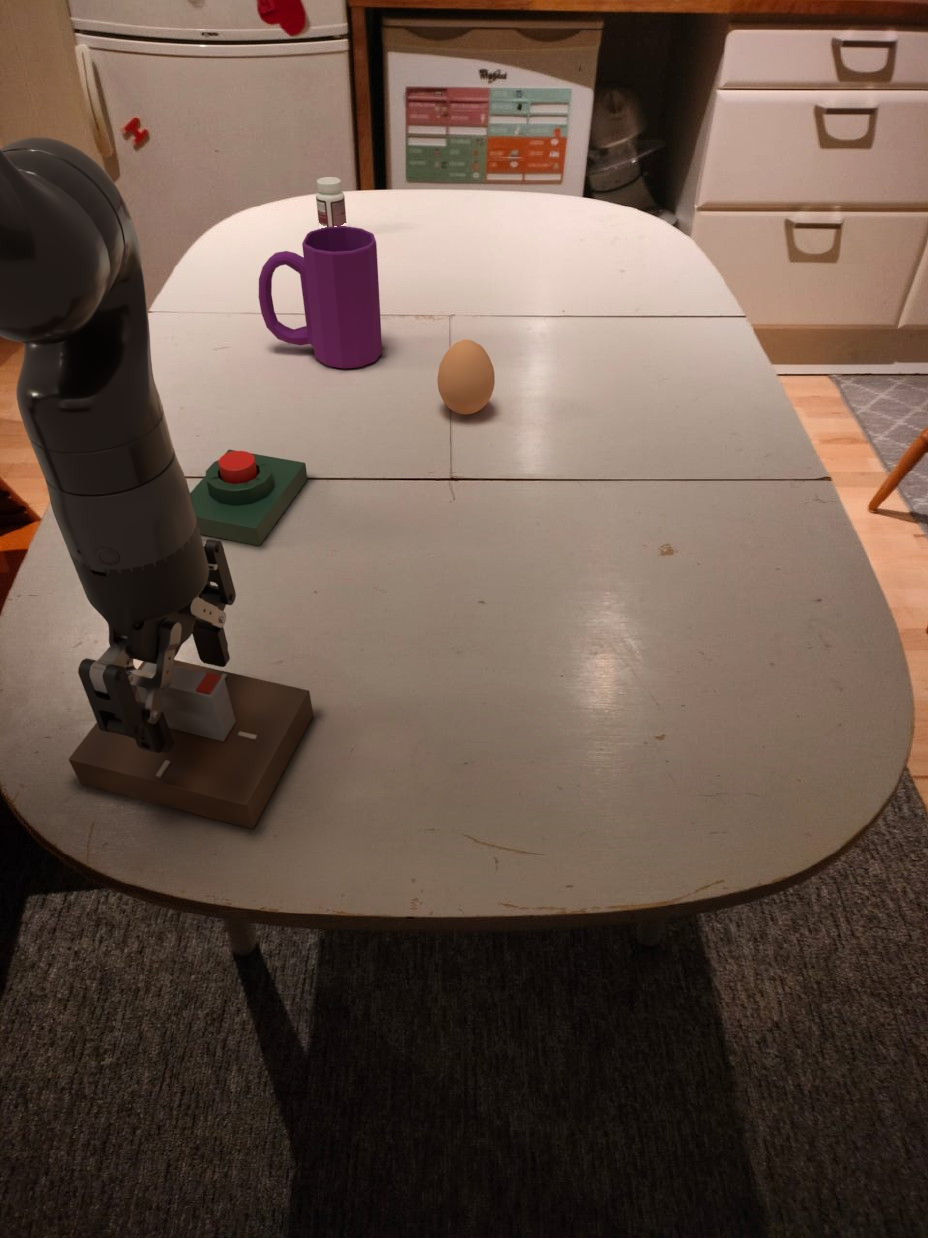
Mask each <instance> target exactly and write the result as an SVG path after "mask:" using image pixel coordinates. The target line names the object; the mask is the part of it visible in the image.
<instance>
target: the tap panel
mask: <svg viewBox="0 0 928 1238" xmlns="http://www.w3.org/2000/svg"><path fill="white" fill-rule="evenodd" d="M146 663H147V662H143V661H141V663H140V665H139V666H138V667H137V669H138V670H141V669H142V668H143V667H144V665H145V664H146ZM174 666H178V667H182V668H187V669H191V670H196V671H200V672H204V673H212V674H216V675H220V676H222V677H224V679H225V683H226V687H227V690H228V694H229V698H230V702H231V705H232V709H233V713H234V717H235V721H236V722H235V724H234V725H233V727H232V729H231V730H230V732H229V734H228V735H227V737H226V739H225V740H224V741H219V740H215V739H211V738H207V737H203V736H199V735H195V734H191V733H186V732H182V731H178V730H174V729H170V728H169V730H170V732H171V735H172V738H173V741H174V745H173V747H172V748H171V750H170V751H169V752H168V753H163V752H160V753H156V752H152V751H148V750H144V749H141V748H139V747H138V745H137V743H136V741H135V739H134V738H130V737H128V736H124V735H120V734H116V733H112V732H105V731H101V730H100V728H99V726H98V723H97V722H95V723H94V725H93V726H92V728H91V729H90V731H89V732H88V733H87V734H86V735H85V737H84V738H83V739H82V741H81V742H80V743H79V745H78V746H77V747H76V749H74V751H73V752H72V754H71V755H70V756H69V757H68V762H69V764H70V766H71V768H72V770H73V771H74V774H75V775H76V778H77V779H78V782H79V784H81V785H84V786H88V787H92V788H95V789H100V790H104V791H107V792H110V793H115V794H119V795H122V796H126V797H130V798H134V799H137V800H141V801H145V802H149V803H153V804H157V805H159V806H164V807H167V808H172V809H176V810H180V811H183V812H185V813H186V812H187V813H191V814H194V815H198V816H201V817H206V818H209V819H212V820H217V821H221V822H225V823H229V824H232V825H236V826H240V827H243V828H248V829H252V830H253V829H254V828H255V826H256V825H257V822H258V821H259V818H260V817H261V816H262V813H263V811H264V810H265V807H266V805H267V804H268V801H269V800H270V798H271V796H272V794H273V792H274V790H275V788H276V786H277V784H279V781H280V779H281V777H282V776H283V773H284V771H285V769H286V767H287V766H288V764H289V762H290V760H291V758H292V756H293V754H294V753H295V750H296V749H297V747H298V744H299V743H300V741H301V739H302V738H303V735H304V734H305V732H306V730H307V728H308V726H309V724H310V722H311V720H312V719H313V717H314V709H313V706H312V705H313V704H312V699H311V698H312V697H311V693H310V692H311V691H310V690H308V689H304V688H301V687H296V686H292V685H287V684H283V683H278V682H274V681H268V680H264V679H260V678H256V677H252V676H247V675H243V674H238V673H233V672H230V671H226V670H221V669H217V668H212V667H208V666H203V665H199V664H194V663H190V662H185V661H182V660H177V659H174ZM135 698H136V701H141V702H143V701H142V699H141V696H140V693H139V691H138V688H136V696H135Z"/></svg>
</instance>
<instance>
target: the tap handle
mask: <svg viewBox="0 0 928 1238" xmlns="http://www.w3.org/2000/svg"><path fill="white" fill-rule="evenodd" d="M156 666H157V664H152V663H148V662H147V663H146V664H145V665H144V667H143V668H142V669H141V671H145V672H149V673H154V674H155V673H156ZM137 688H138V691H139V693H140V696H141V699H142V701H143V702H145V703H146V695H147V691H146V689H145V688H143V687H139V686H137ZM161 712H163V713H164V716H165V719H166V721H167V724H168V727H169V728H170V729H174V730H178V731H182V732H186V733H191V734H195V735H199V736H203V737H207V738H211V739H215V740H219V741H224V740H225V739H226V737H227V735H228V734H229V732H230V730H231V729H232V727H233V725H234V724H235V722H236V721H235V717H234V713H233V709H232V705H231V702H230V698H229V694H228V690H227V687H226V683H225V679H224V677H222V676H220V675H216V674H212V673H204V672H200V671H196V670H191V669H187V668H182V667H178V666H173V674H172V682H171V685H170V686H169V687H167V688H165V689H164V690H163V698H162V706H161Z"/></svg>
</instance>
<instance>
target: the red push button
mask: <svg viewBox="0 0 928 1238" xmlns="http://www.w3.org/2000/svg"><path fill="white" fill-rule="evenodd" d="M225 453H226V452H225ZM225 453H224V454H222V455H221V456H220V457H219V458H218V460H219V461H218V464H219V469H220V474H221V478H222V480H223V481H224V482H226V483H232V484H239V483H246V482H248V481H250V480H253V479H255V477H256V476H257V468H256V462H255V457H254V456H253V455H252V454H253V453H252V452H250V451H245V450H235V451H233V452H229V453H226V454H225ZM251 453H252V454H251Z"/></svg>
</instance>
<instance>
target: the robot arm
mask: <svg viewBox="0 0 928 1238" xmlns="http://www.w3.org/2000/svg"><path fill="white" fill-rule="evenodd" d="M142 259H143V258H142V254H141V248H140V244H139V240H138V235H137V232H136V228H135V225H134V221H133V219H132V216H131V212H130V210H129V208H128V206H127V203H126V201H125V199H124V197H123V195H122V194H121V192H120V190H119V188H118V186H117V185H116V183H115V182H114V180H113V179H112V178H111V176H110V175H109V174H108V173H107V171H105V169H104V168H103V167H102V166H101V165H100V164H99V163H98V162H97V161H96V160H94V159H93V158H92V157H91V156H89V155H88V154H87V153H85V152H84V151H82V150H80V149H79V148H77V147H75V146H73V145H71V144H69V143H67V142H64V141H62V140H59V139H57V138H56V139H55V138H50V137H39V136H38V137H36V136H35V137H27V138H26V137H25V138H22V139H18V140H16V141H12V142H9V143H8V144H5V145H4V146H2V147H1V148H0V337H1V338H3V339H6V340H9V341H12V342H16V343H20V344H23V348H24V349H23V350H24V351H23V360H22V364H21V367H20V371H19V376H18V379H17V384H16V393H15V395H16V401H17V408H18V411H19V415H20V418H21V421H22V424H23V426H24V429H25V432H26V434H27V437H28V440H29V442H30V445H31V447H32V450H33V453H34V455H35V457H36V460H37V462H38V465H39V467H40V471H41V473H42V475H43V478H44V479H45V480H44V481H45V484H46V488H47V491H48V496H49V497H48V498H49V500H50V501H49V502H50V506H51V510H52V513H53V516H54V519H55V521H56V523H57V526H58V528H59V531H60V533H61V536H62V539H63V541H64V544H65V545H66V549H67V551H68V554H69V556H70V559H71V561H72V564H73V566H74V569H75V571H76V574H77V576H78V579H79V581H80V584H81V586H82V589H83V592H84V594H85V596H86V599H87V601H88V602H89V604H90V605H91V606H92V607H93V608H94V609H95V611H97V613H98V614H99V615H100V616H101V617H102V618H103V619H104V620H105V622H106V623H107V626H108V644H109V647H108V648H107V649H106V650H105V651H104V652H103V654H102V655H101V656H100V657H99V658H98V659H92V658H84V659H82V661H81V662H80V663H79V666H78V668H77V672H78V676H79V679H80V681H81V684H82V687H83V689H84V692H85V695H86V697H87V700H88V703H89V705H90V708H91V711H92V713H93V715H94V718H95V720H96V723H98V726H99V728H100V730H101V731H105V732H112V733H116V734H120V735H124V736H128V737H130V738H134V739H135V741H136V743H137V745H138V747H139V748H141V749H144V750H148V751H152V752H156V753H160V752H163V753H168V752H169V751H170V750H171V748H172V747H173V745H174V741H173V738H172V735H171V732H170V730H169V727H168V724H167V721H166V719H165V716H164V713H163V712H161V706H162V698H163V690H164V689H165V688H167V687H169V686H170V685H171V682H172V674H173V666H174V660H175V658H176V657H177V655H178V654H179V651H180V649H181V647H182V645H183V644H185V642H186V641H188V640H189V639H190V637H191V636H192V639H193V640H194V641H193V642H194V645H195V648H196V651H197V655H198V658H199V660H200V661H201V662H202V663H204V664H207V665H210V666H215V667H219V668H224V667H226V666H227V664H228V663H229V661H231V660H230V659H231V657H230V652H229V642H228V640H227V636H226V632H225V628H224V626H225V624H226V621H227V612H226V611H225V609H226V606H232V605H234V603H235V601H236V597H237V592H236V588H235V585H234V582H233V578H232V574H231V571H230V567H229V563H228V560H227V556H226V552H225V549H224V545H223V542H222V541H221V540H218V539H213V538H208V537H204V536H203V537H202V534H200V531H199V527H198V523H197V519H196V515H195V511H194V507H193V503H192V499H191V496H190V493H191V491H190V488H189V485H188V481H187V478H186V476H185V473H184V471H183V468H182V466H181V464H180V461H179V459H178V457H177V454H176V451H175V448H174V445H173V444H174V443H173V441H172V438H171V434H170V429H169V426H168V422H167V418H166V414H165V410H164V406H163V403H162V399H161V396H160V392H159V390H158V388H157V384H156V381H155V377H154V371H153V363H152V362H153V361H152V349H151V331H150V320H149V311H148V302H147V294H146V293H147V291H146V281H145V273H144V267H143V260H142ZM212 583H214V584H216V585H214V584H212ZM134 660H136V661H140V662H148V663H152V664H157V666H156V673H155V674H154V673H149V672H145V671H141V670H138V668H137V667H135V664H134ZM137 686H139V687H143V688H145V689H146V691H147V695H146V703H145V702H141V701H136V698H135V696H136V688H137Z"/></svg>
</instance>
